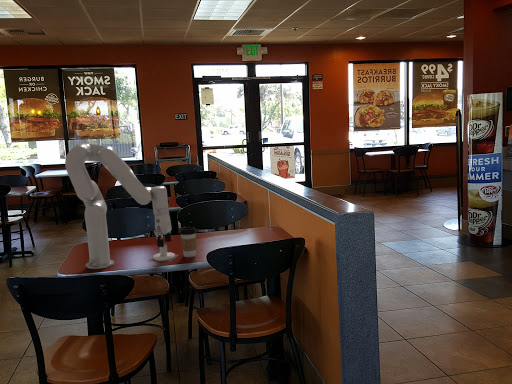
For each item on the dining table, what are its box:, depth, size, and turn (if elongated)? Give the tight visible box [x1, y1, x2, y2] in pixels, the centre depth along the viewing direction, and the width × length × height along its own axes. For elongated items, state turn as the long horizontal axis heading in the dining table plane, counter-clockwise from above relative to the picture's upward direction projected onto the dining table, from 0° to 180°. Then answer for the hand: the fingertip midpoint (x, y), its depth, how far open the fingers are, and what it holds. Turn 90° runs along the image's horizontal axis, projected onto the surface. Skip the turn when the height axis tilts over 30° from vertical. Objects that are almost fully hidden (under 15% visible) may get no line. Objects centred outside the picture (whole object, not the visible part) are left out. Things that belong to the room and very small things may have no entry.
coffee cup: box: [179, 226, 197, 258], centre depth 241 cm, size 8×8×15 cm
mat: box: [148, 253, 179, 262], centre depth 240 cm, size 12×12×1 cm
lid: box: [152, 243, 176, 262], centre depth 239 cm, size 11×11×7 cm
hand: (164, 244), depth 239 cm, fingers open, 9 cm apart
